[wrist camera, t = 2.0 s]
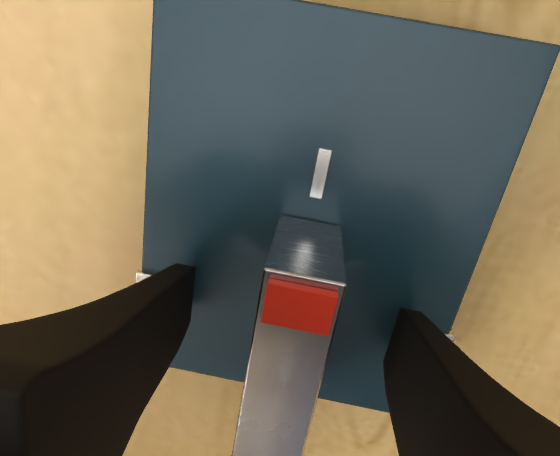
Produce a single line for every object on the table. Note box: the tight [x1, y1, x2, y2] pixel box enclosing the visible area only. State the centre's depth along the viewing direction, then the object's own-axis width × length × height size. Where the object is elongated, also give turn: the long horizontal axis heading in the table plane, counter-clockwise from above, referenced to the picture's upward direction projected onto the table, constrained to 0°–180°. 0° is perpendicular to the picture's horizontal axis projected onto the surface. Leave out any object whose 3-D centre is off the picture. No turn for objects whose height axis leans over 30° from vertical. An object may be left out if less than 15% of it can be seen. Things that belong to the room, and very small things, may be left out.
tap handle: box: [232, 215, 347, 456], centre depth 11 cm, size 6×2×4 cm, turn 171°
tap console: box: [136, 0, 560, 413], centre depth 13 cm, size 14×10×3 cm
